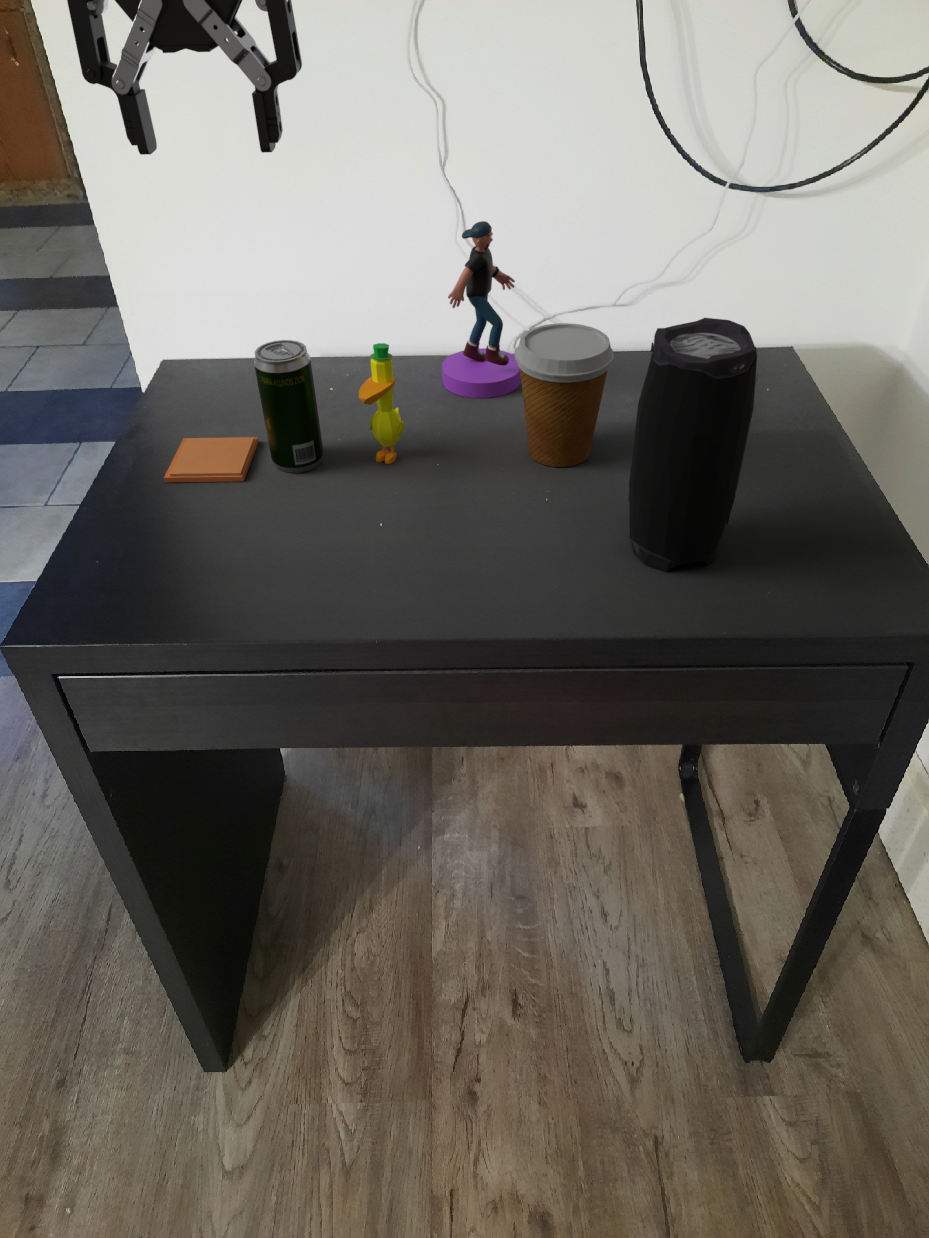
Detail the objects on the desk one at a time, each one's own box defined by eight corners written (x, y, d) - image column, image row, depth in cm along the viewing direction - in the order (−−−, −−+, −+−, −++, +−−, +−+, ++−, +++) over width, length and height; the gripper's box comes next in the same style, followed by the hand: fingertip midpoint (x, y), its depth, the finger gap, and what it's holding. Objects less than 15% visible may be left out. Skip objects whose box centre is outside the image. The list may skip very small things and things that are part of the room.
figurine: (512, 401, 102) (515, 237, 91) (433, 394, 104) (425, 232, 93) (527, 366, 109) (531, 209, 98) (453, 360, 111) (448, 205, 99)
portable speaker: (605, 556, 80) (625, 344, 67) (654, 508, 85) (682, 304, 73) (694, 591, 76) (734, 372, 63) (740, 538, 81) (785, 327, 69)
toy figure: (385, 478, 90) (375, 366, 83) (354, 471, 92) (341, 360, 84) (415, 447, 95) (408, 337, 87) (385, 441, 96) (376, 332, 88)
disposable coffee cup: (620, 466, 91) (632, 353, 83) (532, 483, 89) (536, 369, 81) (583, 423, 98) (590, 315, 90) (500, 438, 96) (500, 329, 88)
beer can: (334, 462, 93) (319, 351, 85) (289, 480, 91) (270, 368, 83) (307, 442, 96) (290, 334, 89) (262, 459, 94) (241, 349, 86)
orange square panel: (165, 482, 91) (162, 475, 90) (184, 443, 97) (182, 435, 96) (243, 481, 91) (242, 474, 90) (258, 442, 97) (257, 434, 96)
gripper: (7, -147, 50) (92, 167, 61) (260, -154, 50) (301, 163, 61) (55, -147, 56) (125, 140, 67) (282, -154, 56) (316, 136, 66)
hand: (209, 151), depth 64 cm, fingers open, 8 cm apart
